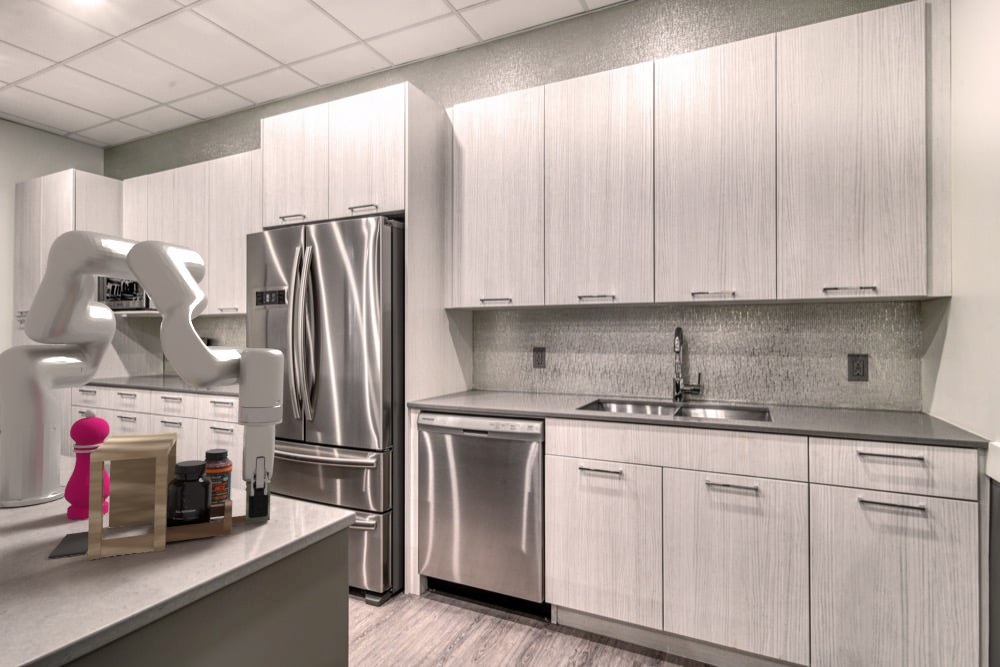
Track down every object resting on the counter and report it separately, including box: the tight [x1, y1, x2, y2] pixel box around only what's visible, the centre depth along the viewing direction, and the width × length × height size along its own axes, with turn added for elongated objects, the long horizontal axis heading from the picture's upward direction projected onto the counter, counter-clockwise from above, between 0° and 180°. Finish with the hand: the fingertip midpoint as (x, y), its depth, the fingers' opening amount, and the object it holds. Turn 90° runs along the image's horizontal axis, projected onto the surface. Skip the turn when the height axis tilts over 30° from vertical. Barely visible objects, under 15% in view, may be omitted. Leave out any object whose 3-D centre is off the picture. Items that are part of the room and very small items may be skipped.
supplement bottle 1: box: [166, 459, 212, 528], centre depth 94 cm, size 7×7×12 cm
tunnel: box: [87, 431, 178, 561], centre depth 91 cm, size 16×10×16 cm, turn 26°
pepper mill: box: [63, 408, 111, 520], centre depth 102 cm, size 7×7×20 cm
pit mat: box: [47, 531, 88, 559], centre depth 87 cm, size 10×5×1 cm, turn 26°
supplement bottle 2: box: [203, 448, 233, 505], centre depth 108 cm, size 6×6×11 cm
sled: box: [152, 479, 272, 543], centre depth 96 cm, size 11×18×7 cm, turn 116°
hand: (257, 513), depth 99 cm, fingers closed on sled, 2 cm apart
